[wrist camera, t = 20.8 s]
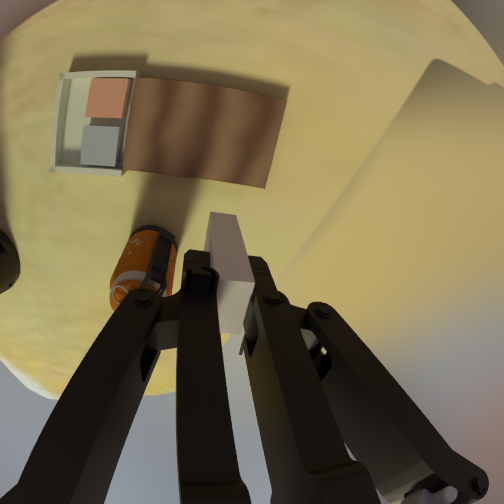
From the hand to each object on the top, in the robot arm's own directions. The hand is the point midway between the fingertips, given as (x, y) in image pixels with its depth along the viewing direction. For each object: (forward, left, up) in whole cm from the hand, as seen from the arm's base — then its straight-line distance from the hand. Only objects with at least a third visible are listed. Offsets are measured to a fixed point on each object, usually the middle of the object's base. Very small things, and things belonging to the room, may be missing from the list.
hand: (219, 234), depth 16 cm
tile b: (-17, 0, -28) cm, 33 cm away
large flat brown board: (-2, +4, -28) cm, 29 cm away
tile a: (-17, +7, -28) cm, 33 cm away
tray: (-20, +4, -28) cm, 35 cm away
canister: (-7, -16, -29) cm, 34 cm away
